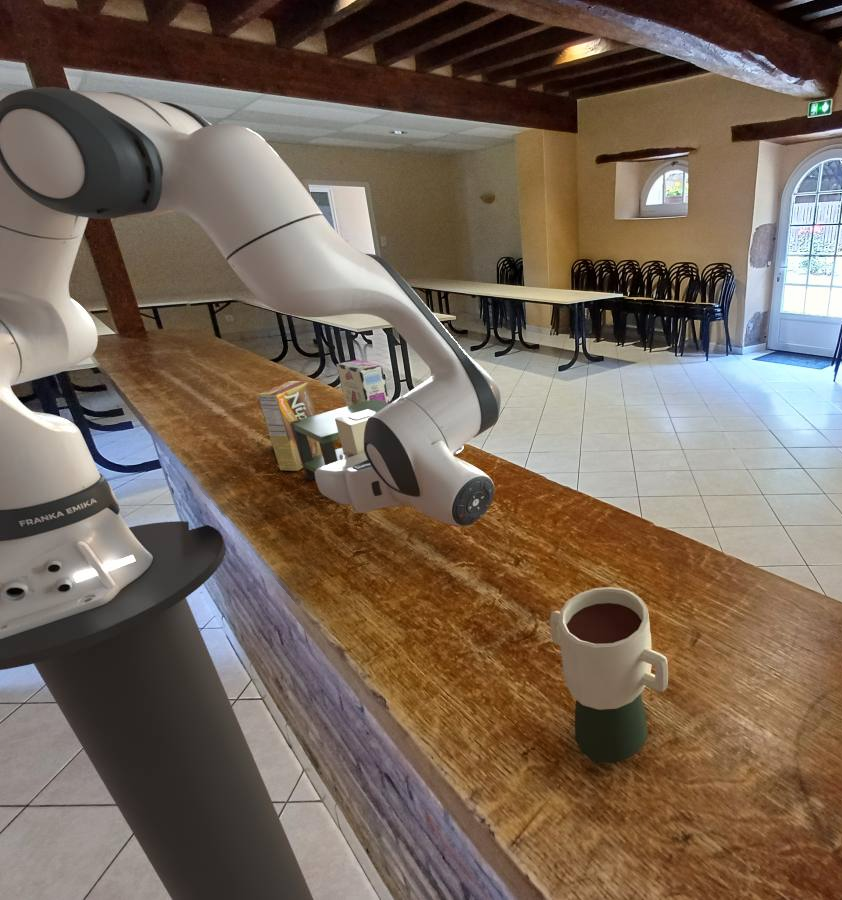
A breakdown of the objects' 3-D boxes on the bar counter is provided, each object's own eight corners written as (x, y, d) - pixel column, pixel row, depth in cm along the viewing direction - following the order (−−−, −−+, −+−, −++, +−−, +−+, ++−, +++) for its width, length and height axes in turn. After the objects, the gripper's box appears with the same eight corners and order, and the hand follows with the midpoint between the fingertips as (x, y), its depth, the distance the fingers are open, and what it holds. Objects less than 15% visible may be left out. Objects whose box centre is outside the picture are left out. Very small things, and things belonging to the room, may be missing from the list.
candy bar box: (399, 440, 117) (383, 364, 111) (377, 448, 114) (359, 370, 108) (373, 430, 124) (357, 358, 118) (352, 436, 121) (334, 363, 115)
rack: (337, 497, 93) (321, 437, 89) (306, 478, 102) (289, 422, 97) (420, 465, 104) (409, 410, 100) (386, 450, 112) (375, 398, 108)
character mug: (687, 733, 47) (688, 611, 42) (646, 802, 42) (642, 672, 37) (583, 683, 53) (574, 570, 48) (536, 738, 48) (519, 617, 43)
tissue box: (369, 502, 87) (350, 424, 82) (353, 492, 91) (334, 417, 86) (400, 489, 91) (384, 414, 86) (384, 480, 95) (367, 408, 90)
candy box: (308, 453, 113) (288, 380, 107) (327, 453, 113) (307, 380, 107) (279, 471, 105) (255, 394, 99) (299, 471, 105) (276, 394, 99)
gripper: (466, 430, 86) (418, 414, 95) (337, 476, 72) (295, 453, 81) (472, 467, 88) (425, 448, 97) (348, 518, 75) (306, 491, 83)
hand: (365, 450), depth 89 cm, fingers closed on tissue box, 5 cm apart
